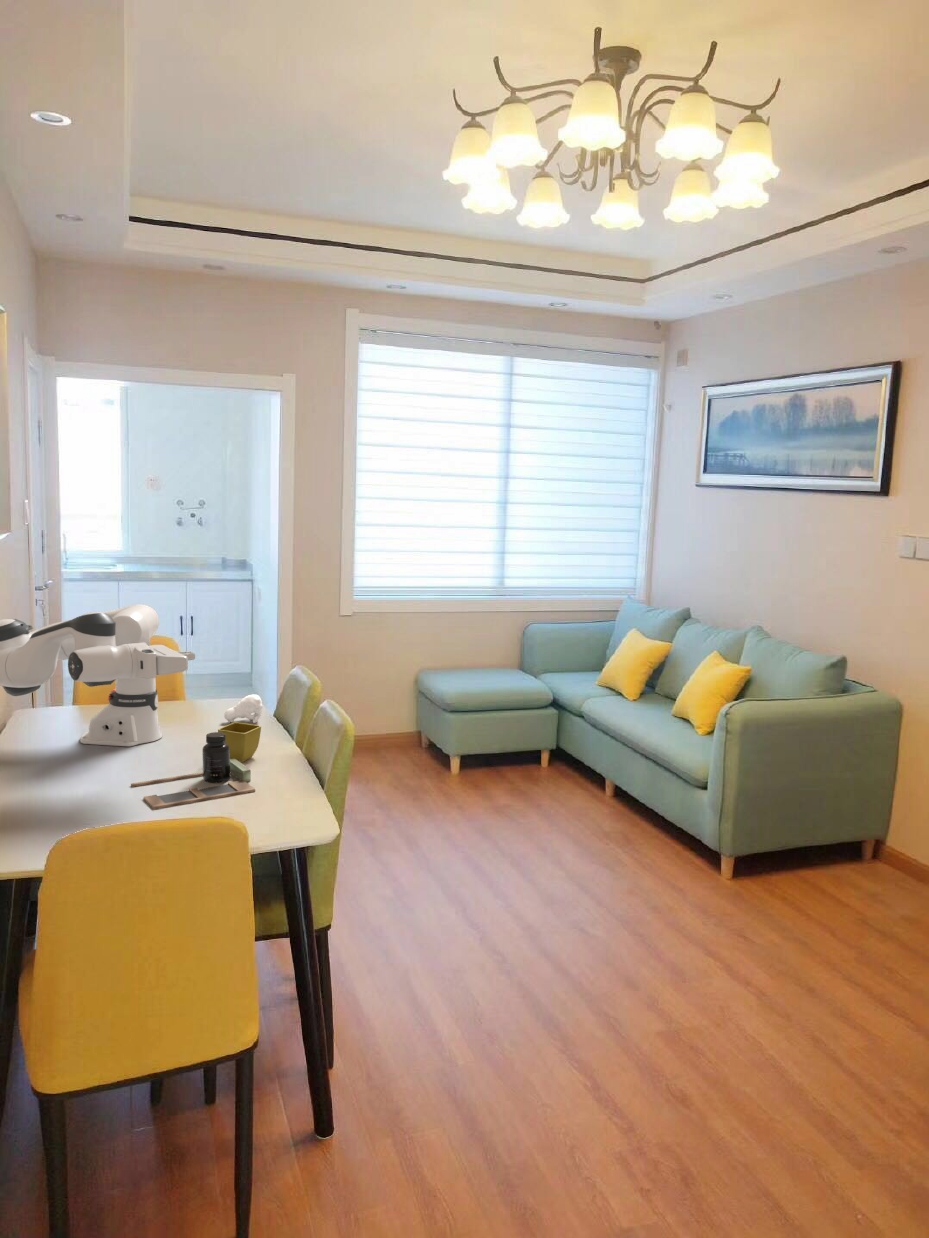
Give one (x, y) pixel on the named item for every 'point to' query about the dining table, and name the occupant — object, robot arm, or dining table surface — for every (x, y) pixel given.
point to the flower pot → (241, 739)
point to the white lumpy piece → (245, 709)
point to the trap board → (204, 793)
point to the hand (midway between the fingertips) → (193, 655)
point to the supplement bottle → (216, 758)
